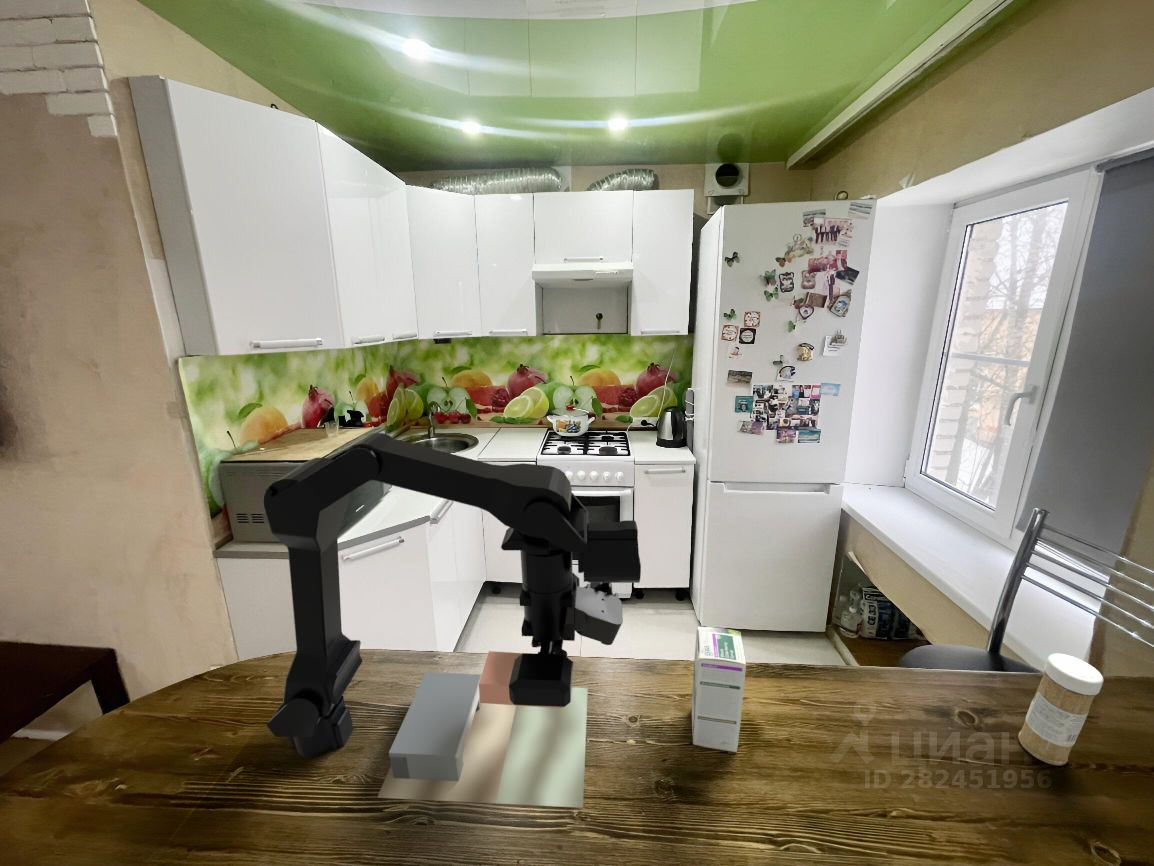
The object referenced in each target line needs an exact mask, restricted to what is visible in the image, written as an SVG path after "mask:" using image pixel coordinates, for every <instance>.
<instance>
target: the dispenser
mask: <svg viewBox="0 0 1154 866" xmlns="http://www.w3.org/2000/svg"><path fill="white" fill-rule="evenodd" d="M481 675H482V673H480V674H479V673H478V674H477V673H475V674H474V673H447V672H446V673H445V672H425V673H424V675H423V678H422V680H421V682H420V683H419V686H418V688H417V690H416V693H415V695H414V697H413V699H412V702H410V705H409V707H408V710H407V711H406V714H405V716H404V719H403V721H402V723H401V725H400V728H399V730H398V731H397V734H396V736H395V738H394V740H393V743H392V745H391V747H390V749H389V751H388V757H389V761H390V767H392V772H393V776H394V778H402V779H423V780H444V781H459V779H460V775H461V772H462V769H463V765H464V763H463V751H464V748H465V745H466V741H467V738H468V735H469V731H470V728H471V725H472V721H473V718H474V715H475V711H476V709H478V710H480V707H481V703H480V695H479V681H480V678H481Z"/></svg>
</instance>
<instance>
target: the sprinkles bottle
mask: <svg viewBox="0 0 1154 866" xmlns="http://www.w3.org/2000/svg"><path fill="white" fill-rule="evenodd" d="M1043 668H1044V673H1043V676H1042V678H1041V680H1040V682H1039V685H1038V687H1037V690H1036V692H1035V694H1034V696H1033V699H1032V700H1031V703H1030V706H1029V708H1028V710H1027V713H1026V715H1025V721H1024V724H1023V725H1022V728H1021V730H1020V731H1019V732H1018V737H1017V738H1018V741H1019V742H1020V744H1021V745H1022V748H1024V749H1025V750H1026V751H1027V752H1028V753H1029V754H1030V755H1032V756H1033V757H1034V758H1036V759H1037V760H1040V761H1042V762H1044V763H1046V764H1049V765H1053V766H1063V765H1066V763H1067V762H1068V761H1069V759H1068V758H1069V754H1070V753H1071V750H1072V748H1073V746H1074V745H1075V743H1076V741H1077V739H1078V737H1079V734H1080V733H1081V730H1082V728H1083V726H1084V723H1085V722H1086V720H1087V718H1088V717H1087V716H1088V715H1089V712H1090V708H1091V706H1092V702H1093V700H1094V699H1095V697H1096V696H1097V695H1098V694H1099V693H1100V691H1101V689H1102V686H1103V684H1104V676H1103V675H1102V674H1101V672H1100V671H1099V670H1098V669H1096V667H1094V666H1092V665H1091V664H1089V663H1088V662H1086V661H1084V660H1082V659H1080V658H1078V657H1075V656H1072V655H1068V654H1064V653H1051V654H1049V656H1048V657H1047V659H1046V661H1045V664H1044V667H1043Z"/></svg>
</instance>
